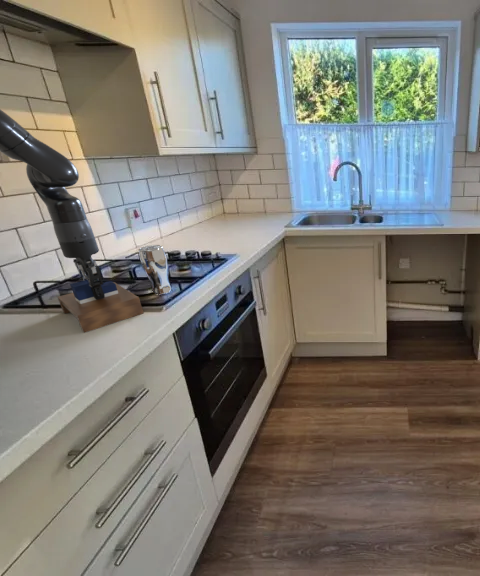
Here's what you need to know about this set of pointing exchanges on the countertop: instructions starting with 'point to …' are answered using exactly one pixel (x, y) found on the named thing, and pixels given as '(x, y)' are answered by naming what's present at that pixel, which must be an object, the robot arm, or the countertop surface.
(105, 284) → the blue stepped sponge
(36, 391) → the countertop surface
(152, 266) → the beer glass
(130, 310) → the wooden display riser
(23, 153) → the robot arm
